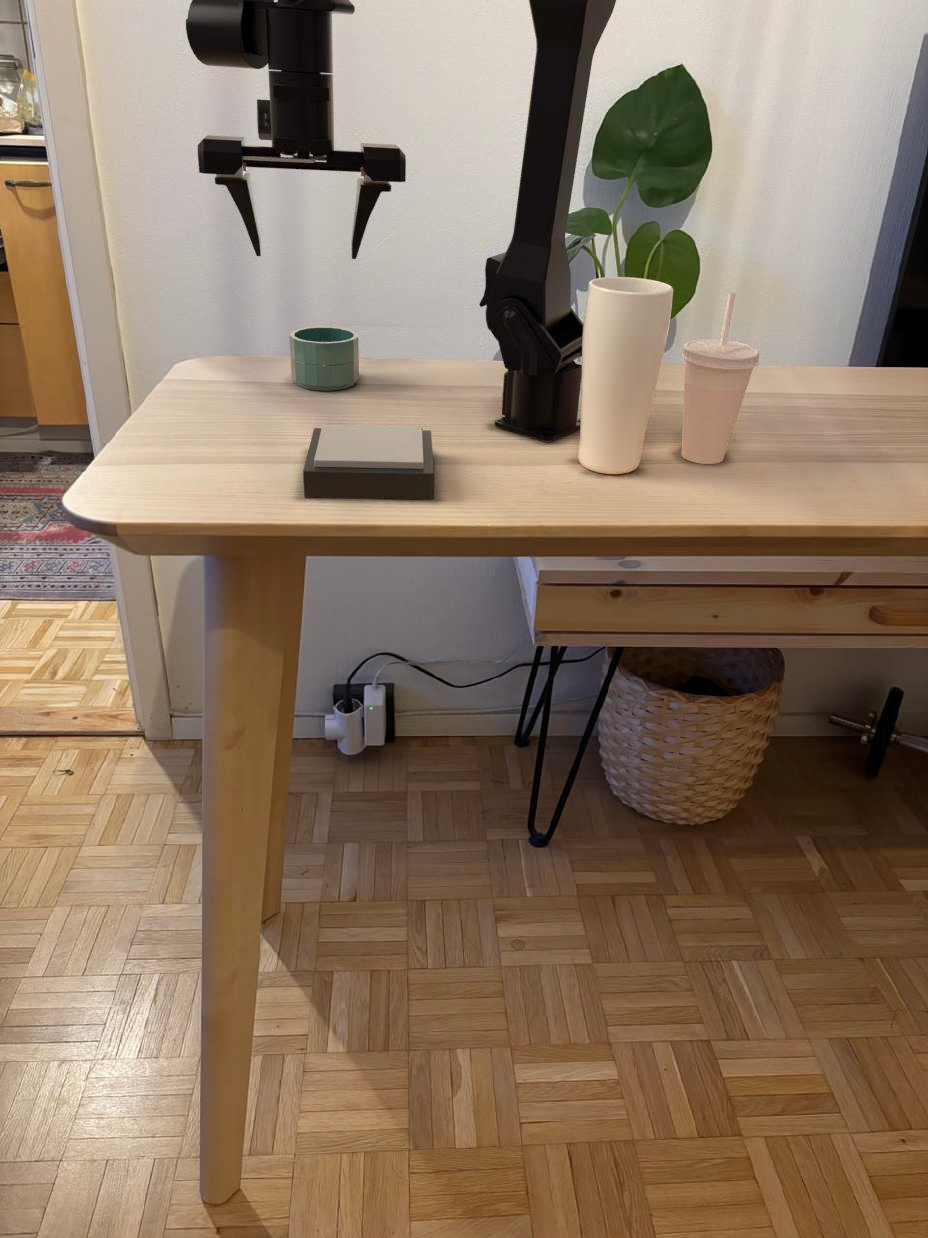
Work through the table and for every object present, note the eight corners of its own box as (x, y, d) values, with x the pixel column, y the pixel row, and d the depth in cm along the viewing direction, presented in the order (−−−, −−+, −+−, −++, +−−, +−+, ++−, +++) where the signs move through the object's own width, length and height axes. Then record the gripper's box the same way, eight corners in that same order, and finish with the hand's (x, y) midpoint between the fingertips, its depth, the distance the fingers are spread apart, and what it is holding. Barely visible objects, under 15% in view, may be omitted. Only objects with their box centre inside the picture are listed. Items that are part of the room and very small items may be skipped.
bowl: (372, 382, 98) (372, 335, 96) (324, 396, 94) (322, 346, 91) (326, 369, 102) (325, 323, 99) (278, 381, 97) (275, 333, 95)
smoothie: (741, 450, 85) (773, 291, 78) (735, 474, 79) (769, 306, 72) (671, 440, 86) (696, 283, 79) (661, 462, 81) (687, 297, 74)
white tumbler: (644, 454, 83) (670, 279, 75) (650, 482, 77) (679, 295, 69) (569, 449, 83) (587, 274, 76) (569, 476, 77) (588, 290, 70)
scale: (430, 454, 80) (431, 423, 79) (433, 499, 72) (434, 465, 70) (315, 452, 80) (313, 420, 78) (304, 497, 71) (302, 463, 70)
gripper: (397, 77, 91) (394, 245, 99) (201, 65, 88) (215, 240, 96) (408, 79, 81) (404, 265, 89) (189, 65, 78) (205, 259, 86)
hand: (306, 256), depth 91 cm, fingers open, 9 cm apart
